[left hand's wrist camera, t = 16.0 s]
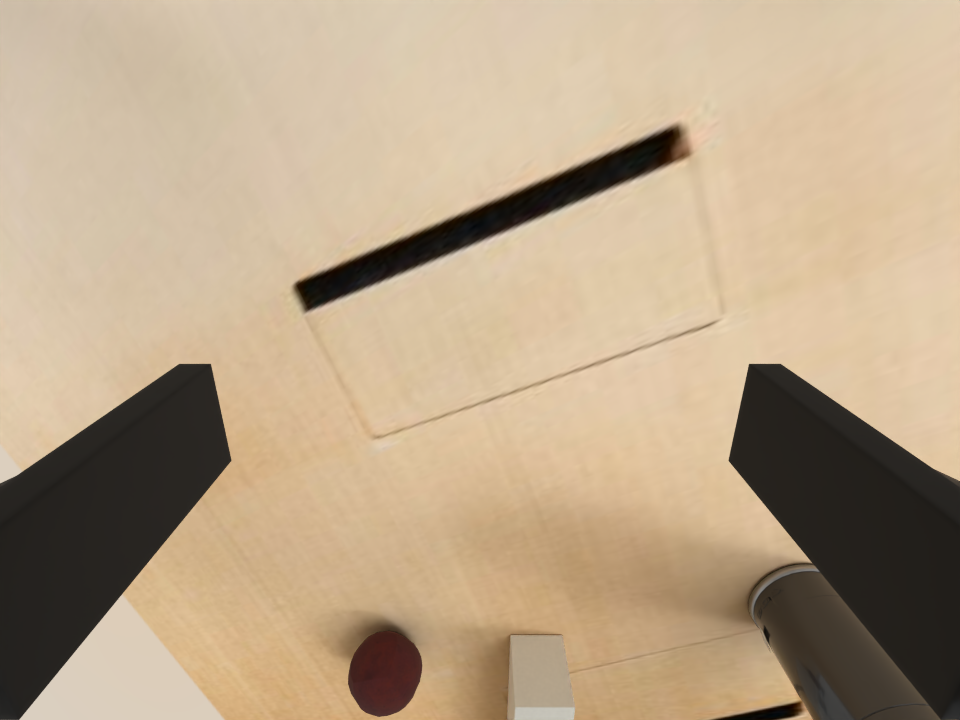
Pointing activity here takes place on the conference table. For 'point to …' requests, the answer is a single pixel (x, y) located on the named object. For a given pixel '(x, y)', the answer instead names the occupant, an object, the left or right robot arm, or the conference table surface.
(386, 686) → the dark red ball
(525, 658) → the bar
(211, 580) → the conference table surface
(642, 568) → the conference table surface
